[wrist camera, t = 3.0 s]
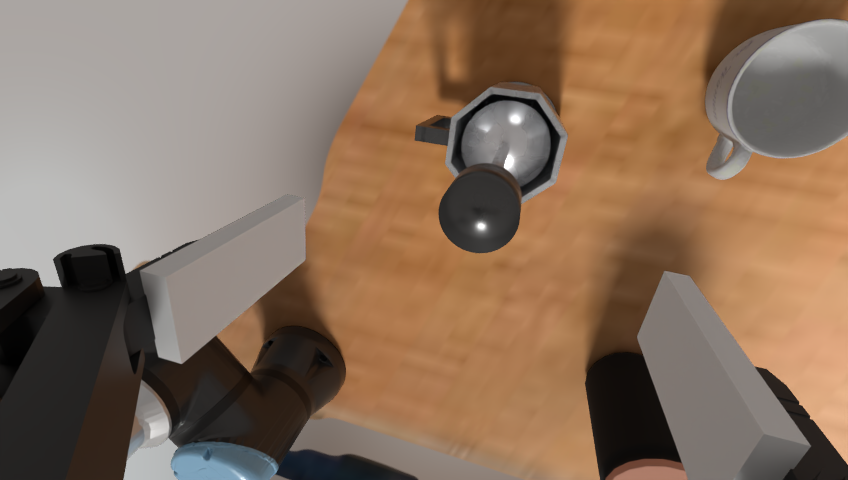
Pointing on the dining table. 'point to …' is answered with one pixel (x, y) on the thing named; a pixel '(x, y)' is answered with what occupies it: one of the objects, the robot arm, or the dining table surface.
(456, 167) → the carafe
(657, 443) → the coffee jar
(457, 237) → the plunger
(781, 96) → the teacup
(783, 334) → the dining table surface
